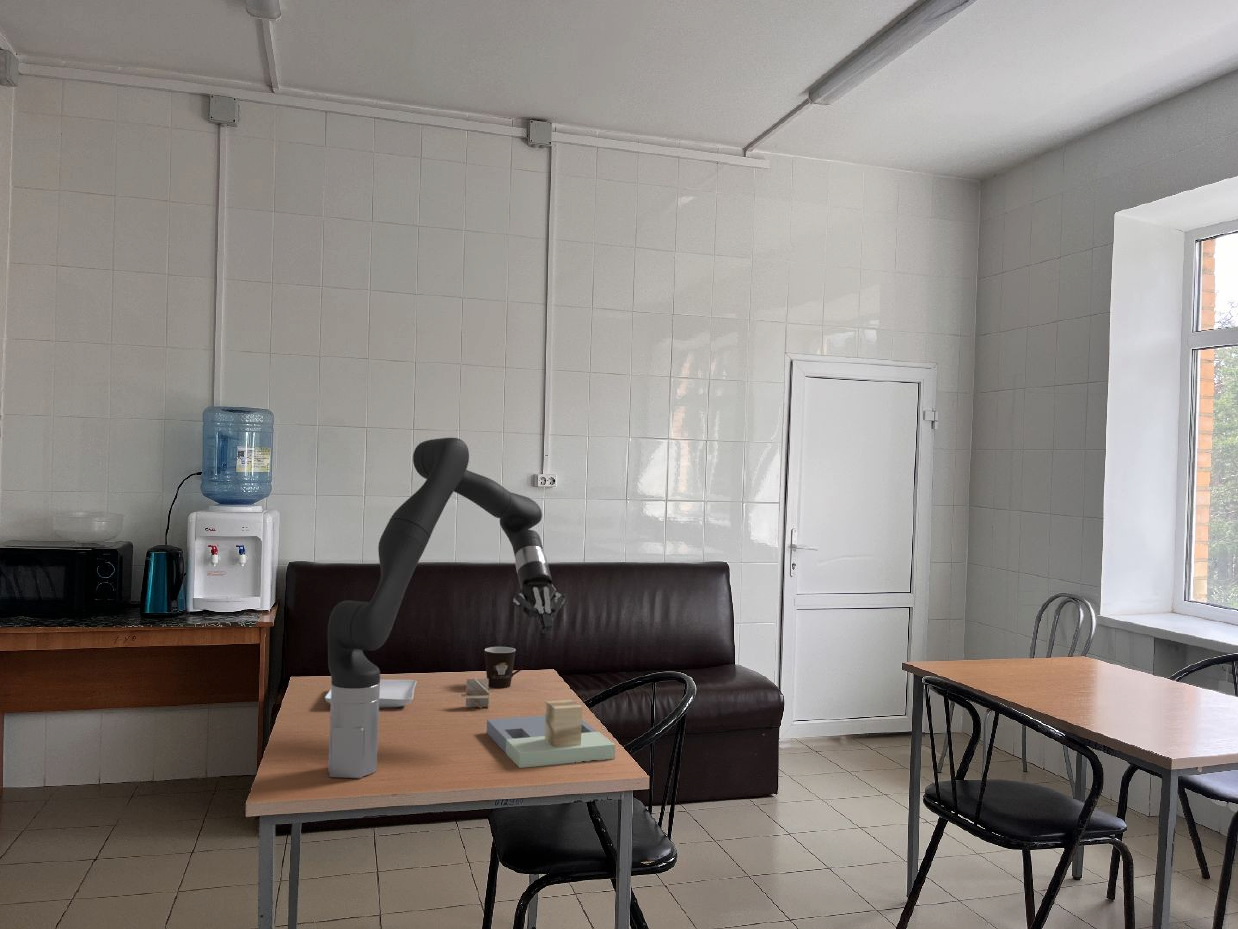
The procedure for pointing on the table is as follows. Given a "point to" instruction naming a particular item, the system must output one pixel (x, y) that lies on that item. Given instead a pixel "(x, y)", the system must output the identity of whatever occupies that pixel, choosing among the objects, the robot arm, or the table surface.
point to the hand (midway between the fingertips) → (547, 630)
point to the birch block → (563, 723)
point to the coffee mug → (501, 666)
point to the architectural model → (477, 693)
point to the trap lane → (545, 743)
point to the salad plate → (392, 693)
